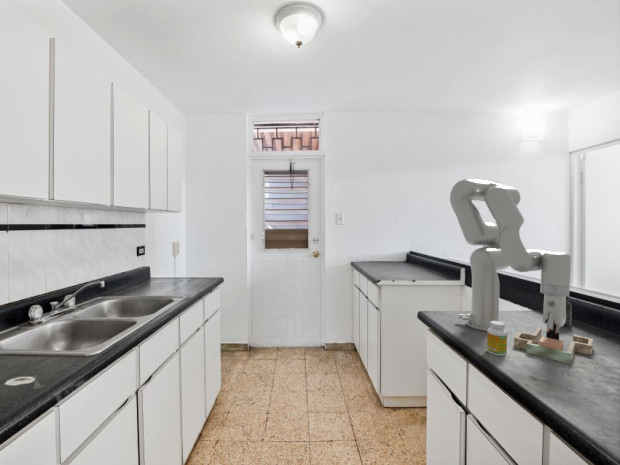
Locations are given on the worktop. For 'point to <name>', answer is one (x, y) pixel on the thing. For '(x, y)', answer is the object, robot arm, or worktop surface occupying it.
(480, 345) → the worktop surface
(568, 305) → the supplement bottle
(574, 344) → the trap lane
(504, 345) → the supplement bottle
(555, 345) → the terracotta block
